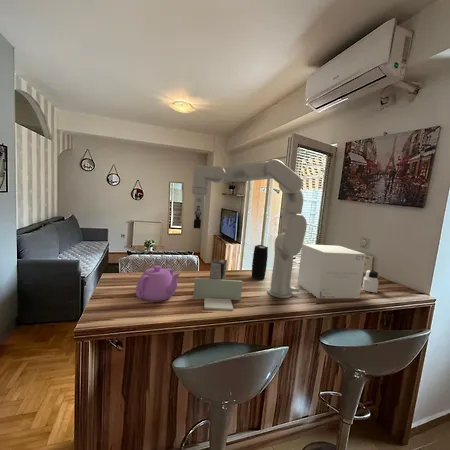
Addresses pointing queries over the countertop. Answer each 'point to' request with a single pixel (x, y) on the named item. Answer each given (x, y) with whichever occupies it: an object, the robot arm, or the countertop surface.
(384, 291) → the countertop surface
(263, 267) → the portable speaker
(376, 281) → the medicine bottle
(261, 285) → the countertop surface
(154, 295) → the teapot
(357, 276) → the cube
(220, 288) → the screen
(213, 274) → the coffee box
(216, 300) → the mat
